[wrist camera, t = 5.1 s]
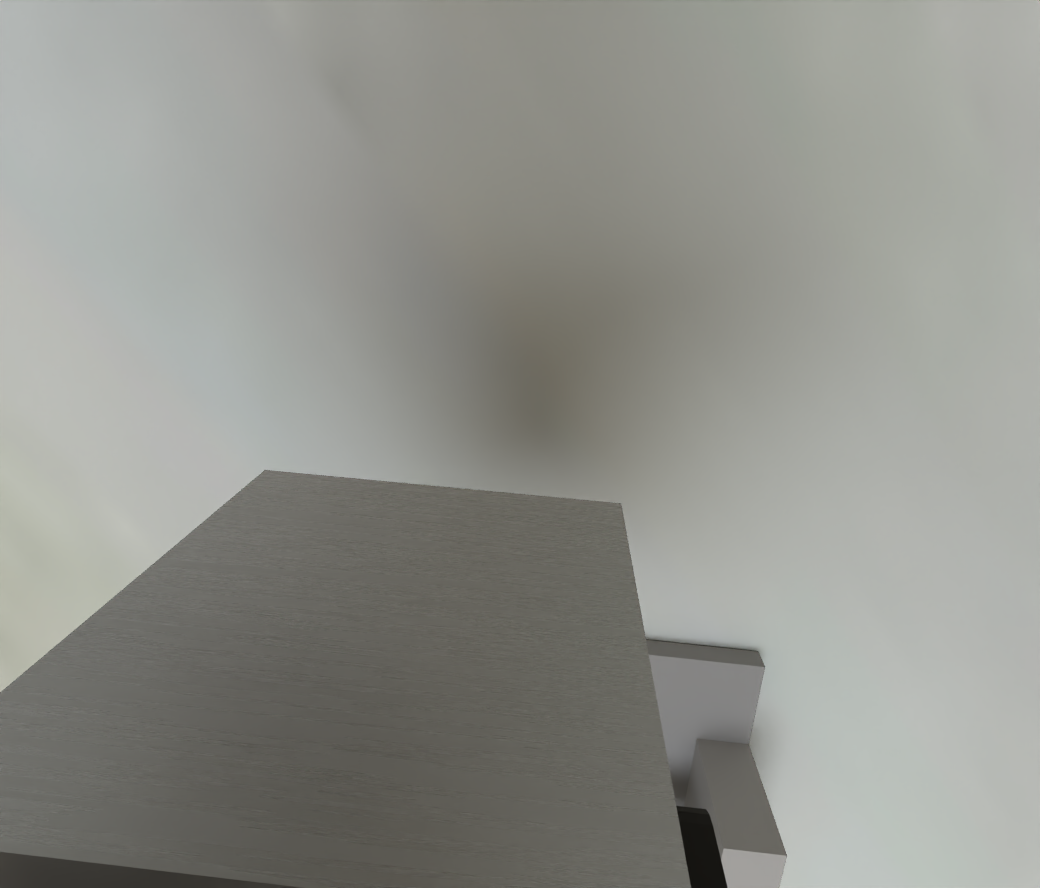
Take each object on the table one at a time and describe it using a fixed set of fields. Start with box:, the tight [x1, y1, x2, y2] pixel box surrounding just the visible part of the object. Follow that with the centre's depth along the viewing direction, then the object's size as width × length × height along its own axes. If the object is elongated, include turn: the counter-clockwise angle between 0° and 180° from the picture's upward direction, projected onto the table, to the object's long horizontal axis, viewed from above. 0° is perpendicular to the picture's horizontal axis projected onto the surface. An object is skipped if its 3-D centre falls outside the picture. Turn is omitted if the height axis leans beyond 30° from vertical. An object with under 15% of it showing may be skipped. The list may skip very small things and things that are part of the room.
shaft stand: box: [646, 640, 787, 888], centre depth 26 cm, size 20×12×6 cm, turn 86°
